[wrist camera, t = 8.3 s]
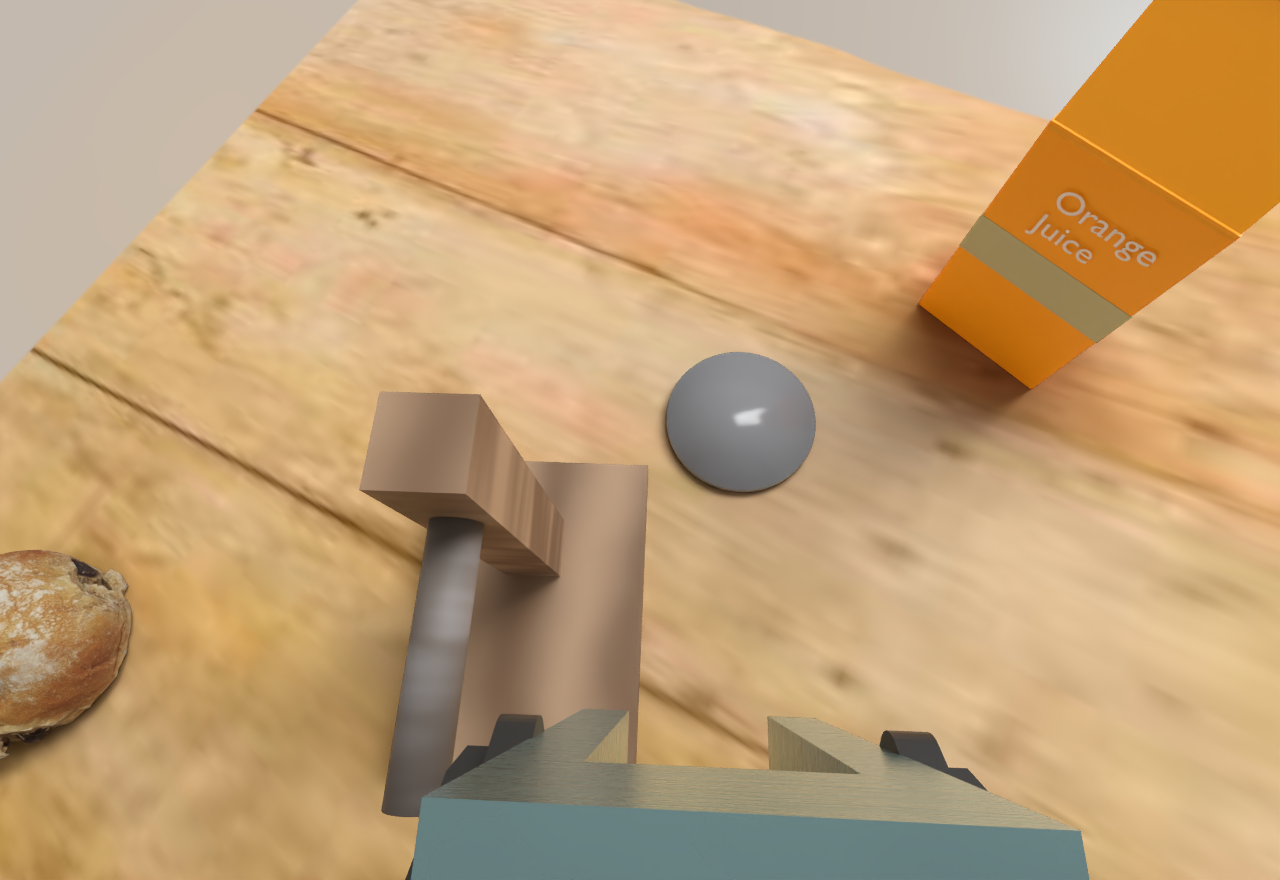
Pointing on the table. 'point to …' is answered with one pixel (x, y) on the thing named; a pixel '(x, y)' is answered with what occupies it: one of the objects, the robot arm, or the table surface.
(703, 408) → the coaster
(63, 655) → the bread roll
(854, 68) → the table surface
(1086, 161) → the orange juice
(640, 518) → the stand
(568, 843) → the c link
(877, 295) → the table surface
